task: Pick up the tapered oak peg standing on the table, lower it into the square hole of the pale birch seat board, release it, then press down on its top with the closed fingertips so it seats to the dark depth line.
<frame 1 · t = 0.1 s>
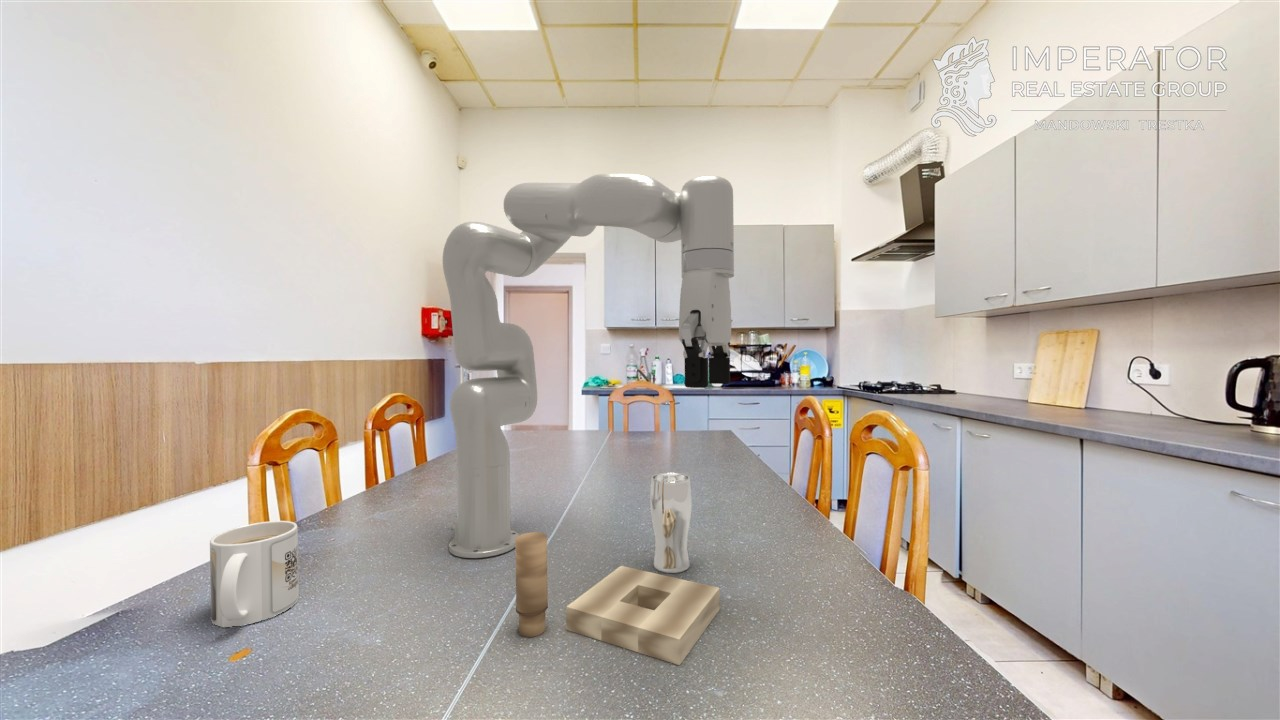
hand: (708, 385, 71), 31 cm above the table, fingers open, 9 cm apart
board: (645, 619, 66), on the table
mug: (250, 615, 68), on the table
peg: (532, 629, 64), on the table
beer glass: (671, 566, 83), on the table
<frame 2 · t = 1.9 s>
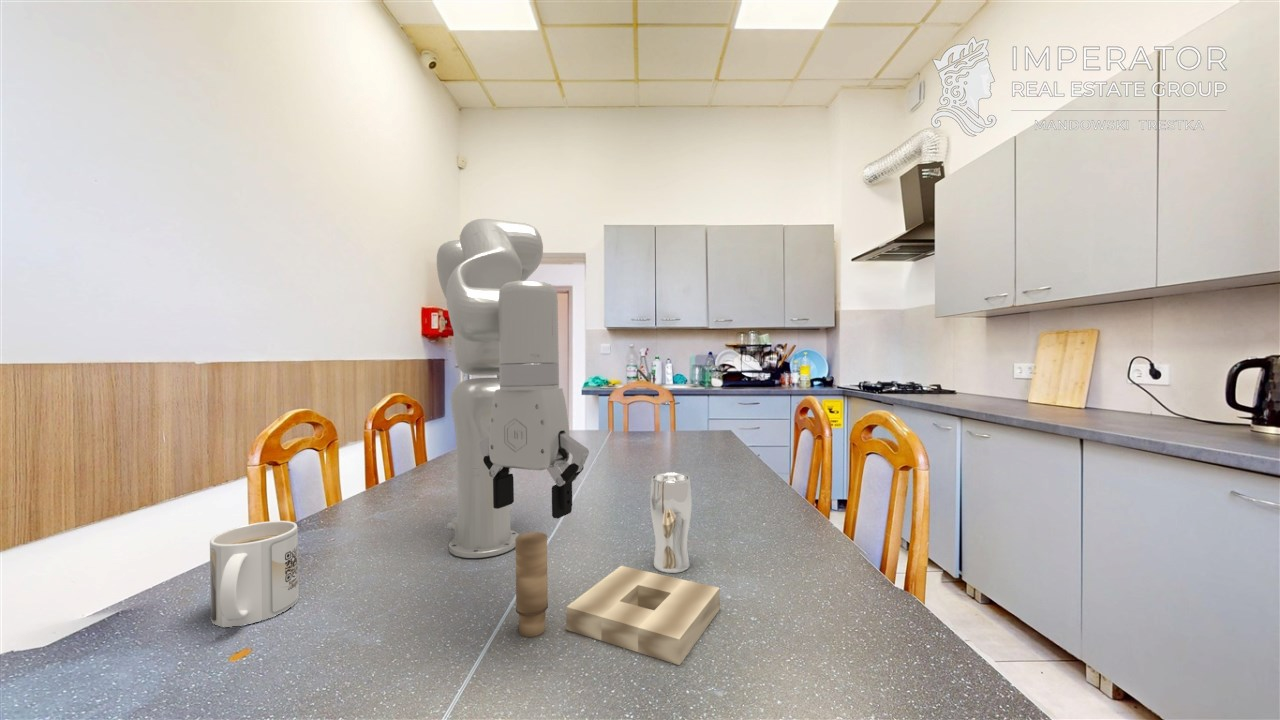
hand: (531, 510, 63), 16 cm above the table, fingers open, 9 cm apart
nothing on the table moved.
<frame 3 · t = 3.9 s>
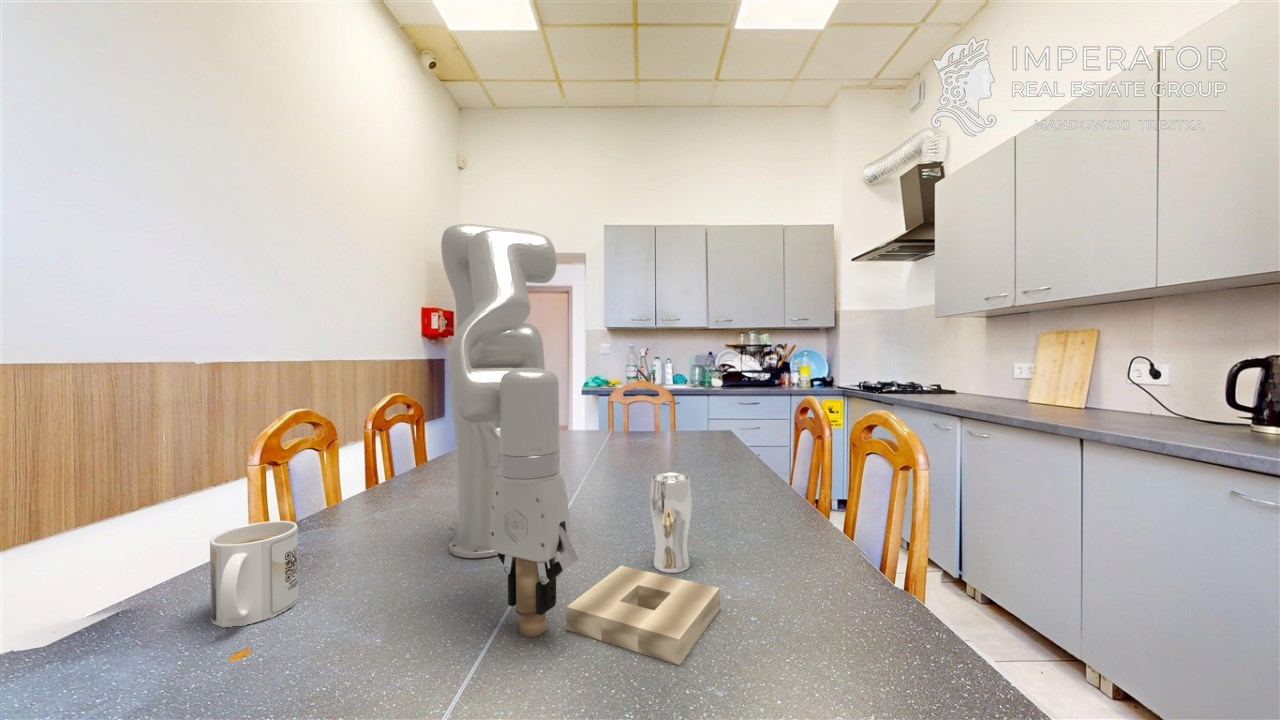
hand: (532, 604, 64), 3 cm above the table, fingers closed on peg, 4 cm apart
peg: (532, 629, 64), on the table, touching gripper
everything else where it was.
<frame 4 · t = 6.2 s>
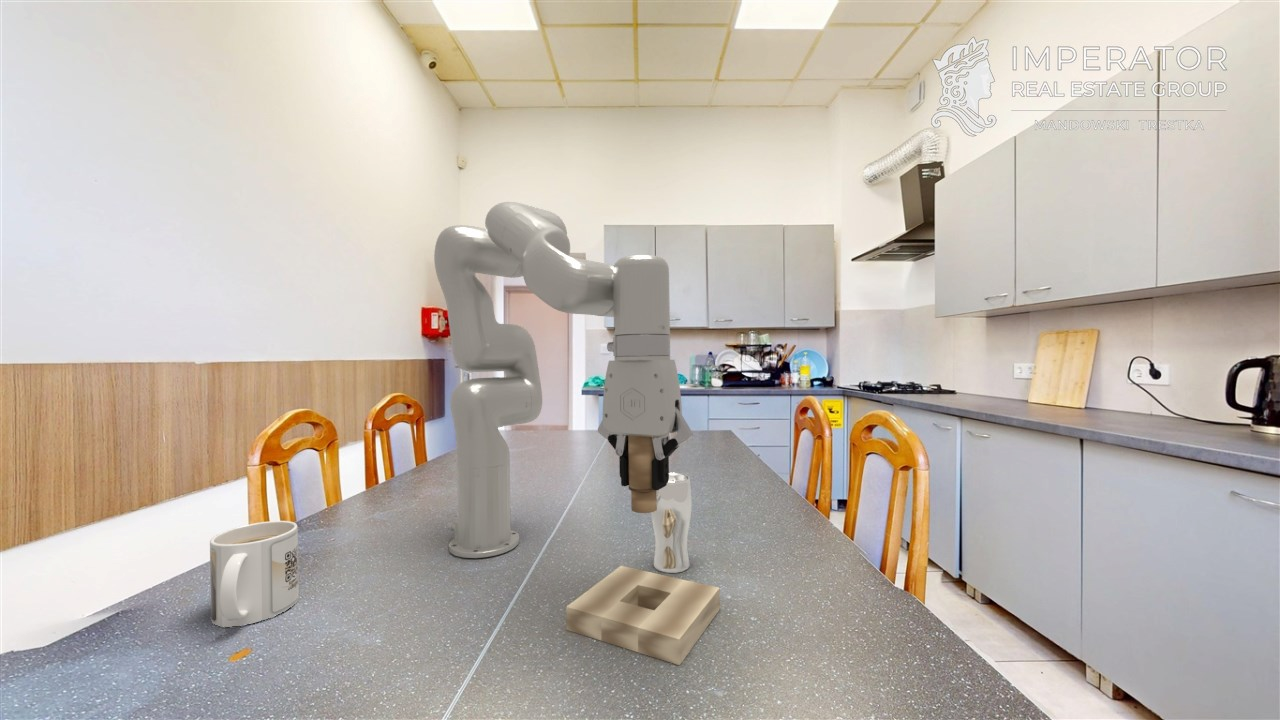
hand: (644, 484, 66), 18 cm above the table, fingers closed on peg, 4 cm apart
peg: (644, 509, 66), point 15 cm above the table, touching gripper
everything else where it was.
when the fingers open (4 cm above the table, at t = 8.6 s): peg stays where it is, resting in board.
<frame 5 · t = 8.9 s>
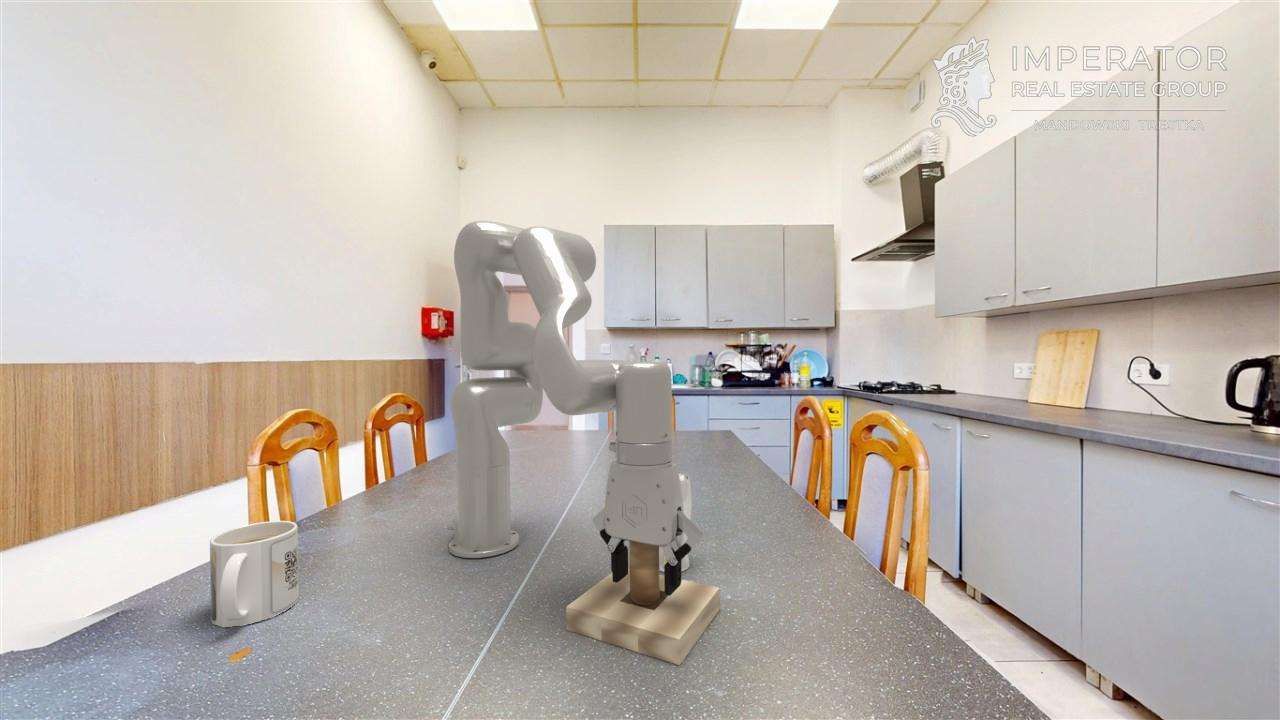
hand: (645, 583, 66), 5 cm above the table, fingers open, 7 cm apart
peg: (645, 619, 66), resting in board
everything else where it was.
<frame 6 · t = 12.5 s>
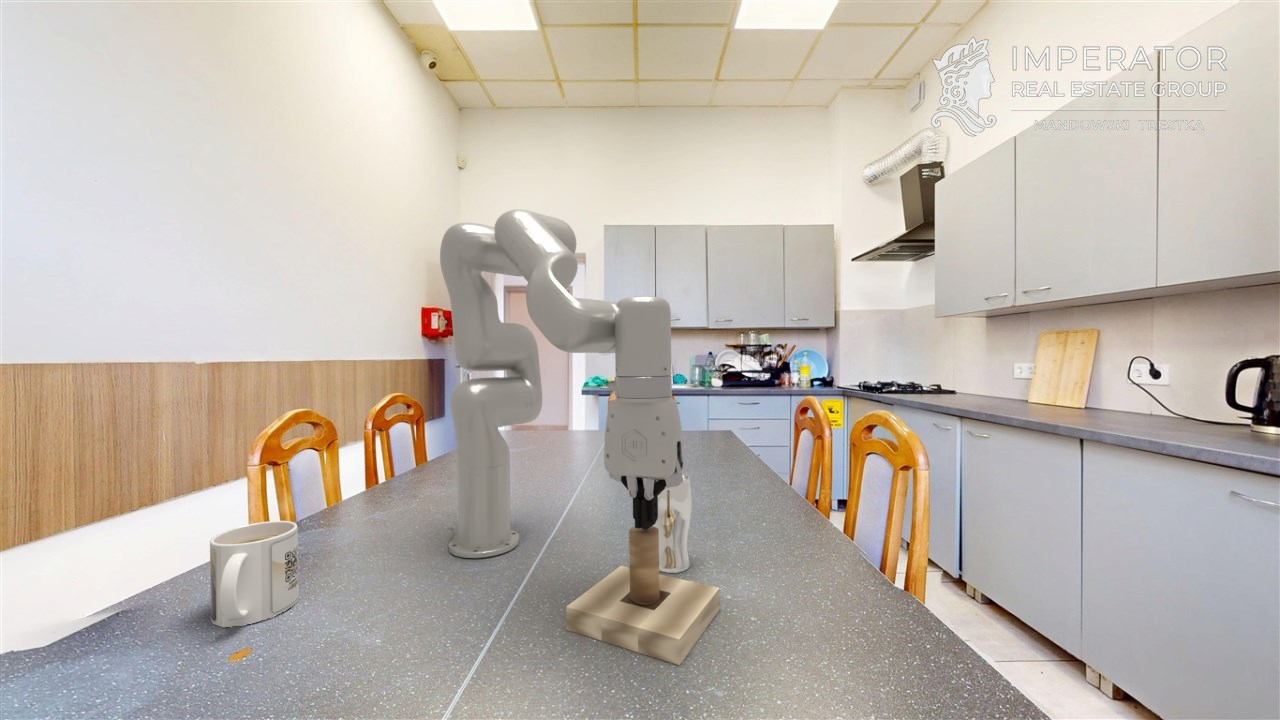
hand: (645, 525, 66), 13 cm above the table, fingers closed
nothing on the table moved.
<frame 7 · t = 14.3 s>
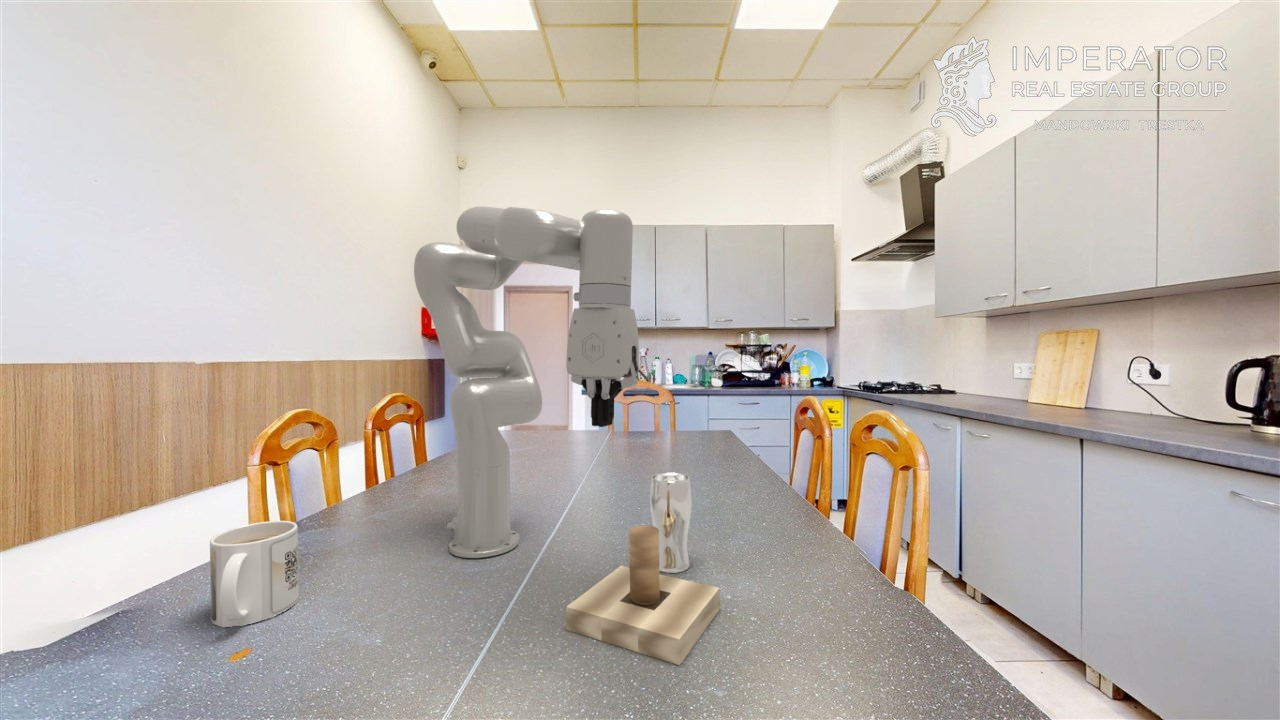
hand: (602, 425, 72), 25 cm above the table, fingers closed
nothing on the table moved.
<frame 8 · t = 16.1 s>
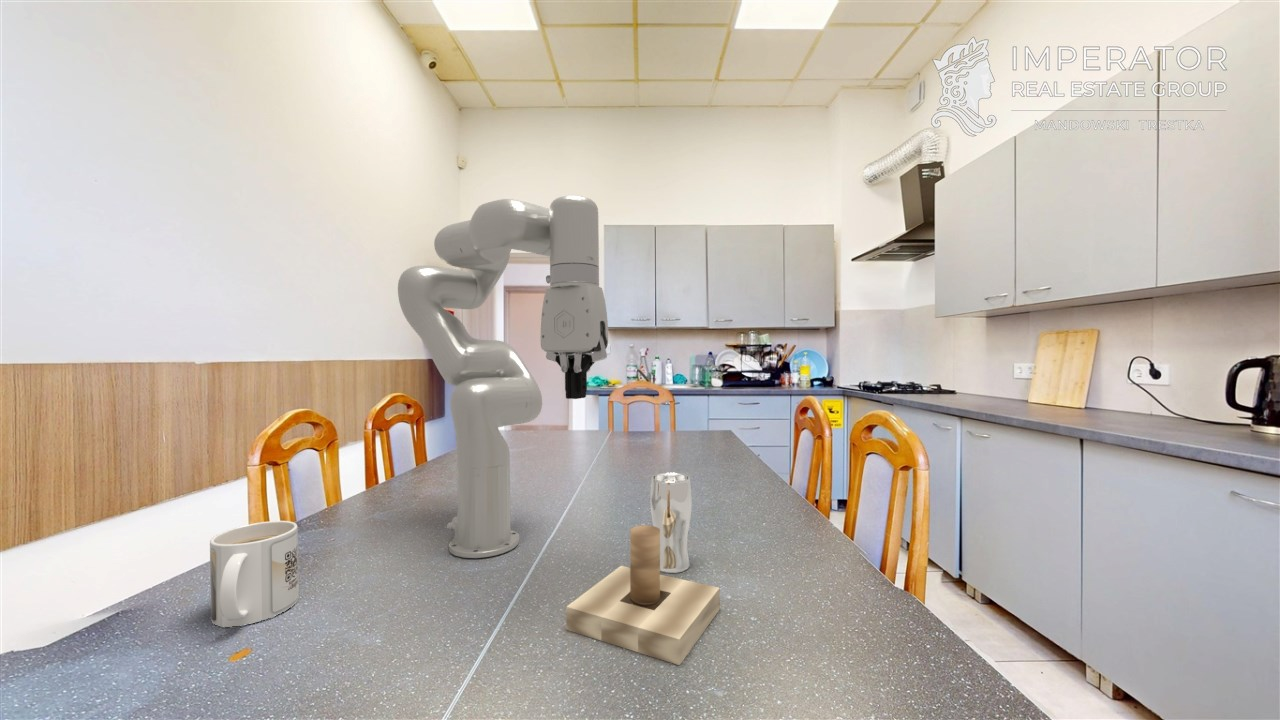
hand: (576, 397, 76), 29 cm above the table, fingers closed
nothing on the table moved.
at the end: peg 0.1 cm off-centre on the board, point 0.0 cm above the board's base; peg tilted 1°; the gripper is holding nothing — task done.
